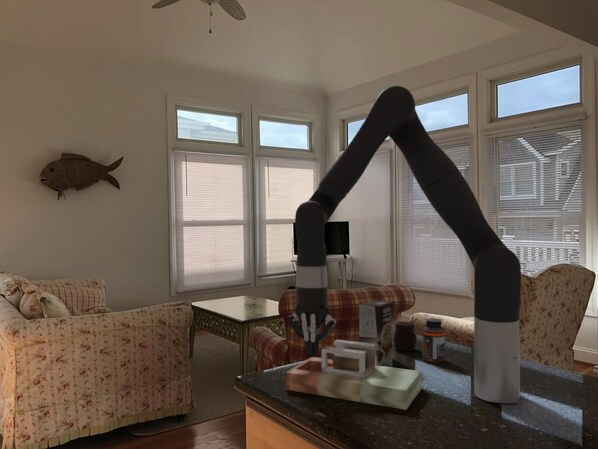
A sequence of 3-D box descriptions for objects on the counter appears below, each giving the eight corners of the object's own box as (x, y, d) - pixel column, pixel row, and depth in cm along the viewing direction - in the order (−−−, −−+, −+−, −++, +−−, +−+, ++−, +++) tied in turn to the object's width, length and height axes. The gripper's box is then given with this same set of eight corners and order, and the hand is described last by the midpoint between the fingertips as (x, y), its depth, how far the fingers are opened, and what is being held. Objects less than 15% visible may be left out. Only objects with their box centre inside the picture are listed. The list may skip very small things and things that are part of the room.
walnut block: (366, 369, 116) (366, 352, 116) (357, 376, 111) (357, 358, 111) (342, 366, 119) (342, 349, 119) (332, 373, 114) (332, 355, 114)
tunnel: (376, 368, 117) (376, 343, 117) (363, 380, 109) (363, 353, 109) (336, 363, 121) (336, 339, 121) (321, 373, 113) (321, 348, 113)
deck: (421, 388, 115) (421, 371, 115) (406, 409, 102) (406, 390, 102) (311, 372, 127) (311, 356, 127) (285, 389, 115) (285, 372, 115)
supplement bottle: (418, 358, 139) (418, 318, 139) (436, 356, 141) (436, 316, 141) (430, 364, 133) (430, 322, 133) (449, 362, 135) (449, 321, 135)
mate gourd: (395, 345, 154) (396, 313, 153) (420, 348, 150) (420, 315, 150) (388, 350, 147) (389, 317, 147) (414, 354, 144) (414, 319, 144)
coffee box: (379, 367, 131) (379, 306, 131) (358, 362, 135) (358, 303, 135) (395, 359, 139) (394, 301, 138) (374, 355, 143) (374, 299, 142)
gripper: (343, 284, 119) (343, 355, 120) (294, 281, 125) (294, 349, 126) (331, 288, 113) (331, 364, 113) (280, 284, 119) (280, 356, 119)
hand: (311, 356), depth 119 cm, fingers closed
